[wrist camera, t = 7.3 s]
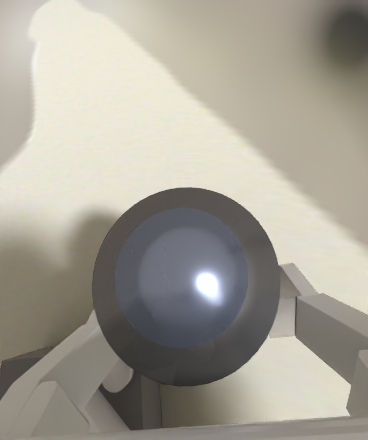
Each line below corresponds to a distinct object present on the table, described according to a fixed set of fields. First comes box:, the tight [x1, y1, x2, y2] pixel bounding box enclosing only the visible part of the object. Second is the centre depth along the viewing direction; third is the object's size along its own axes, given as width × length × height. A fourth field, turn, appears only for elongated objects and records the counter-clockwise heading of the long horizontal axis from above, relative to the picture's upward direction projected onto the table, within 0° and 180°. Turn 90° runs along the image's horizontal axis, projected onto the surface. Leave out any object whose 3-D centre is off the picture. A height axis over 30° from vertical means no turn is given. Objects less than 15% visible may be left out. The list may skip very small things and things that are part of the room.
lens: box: [92, 187, 280, 386], centre depth 9 cm, size 5×5×9 cm
